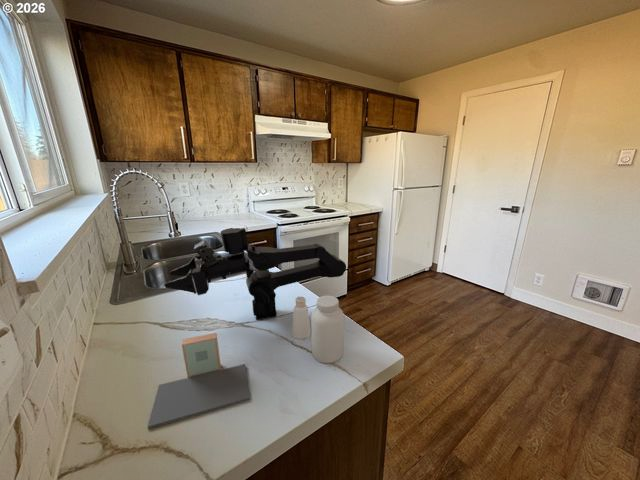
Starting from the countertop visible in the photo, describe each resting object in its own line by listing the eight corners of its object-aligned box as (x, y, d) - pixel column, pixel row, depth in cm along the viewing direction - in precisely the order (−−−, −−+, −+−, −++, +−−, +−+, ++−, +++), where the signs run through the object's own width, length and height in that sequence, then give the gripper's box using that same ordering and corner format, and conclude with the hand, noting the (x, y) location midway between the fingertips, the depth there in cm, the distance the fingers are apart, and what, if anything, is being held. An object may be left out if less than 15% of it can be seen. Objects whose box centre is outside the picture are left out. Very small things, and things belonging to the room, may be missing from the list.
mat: (245, 366, 63) (245, 363, 63) (249, 400, 54) (249, 397, 54) (159, 387, 58) (159, 384, 57) (148, 429, 49) (147, 426, 48)
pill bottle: (320, 369, 62) (320, 312, 58) (306, 348, 69) (305, 296, 65) (349, 357, 66) (351, 303, 62) (333, 339, 73) (333, 289, 68)
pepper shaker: (287, 333, 75) (286, 298, 72) (301, 325, 79) (300, 291, 76) (301, 342, 72) (300, 306, 68) (315, 333, 75) (314, 298, 72)
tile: (220, 364, 64) (216, 332, 61) (220, 370, 62) (216, 338, 59) (188, 372, 62) (182, 339, 59) (187, 379, 60) (181, 345, 57)
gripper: (220, 232, 83) (164, 242, 78) (223, 247, 66) (152, 261, 61) (228, 265, 86) (174, 277, 81) (232, 287, 69) (165, 304, 64)
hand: (167, 279), depth 72 cm, fingers open, 9 cm apart
